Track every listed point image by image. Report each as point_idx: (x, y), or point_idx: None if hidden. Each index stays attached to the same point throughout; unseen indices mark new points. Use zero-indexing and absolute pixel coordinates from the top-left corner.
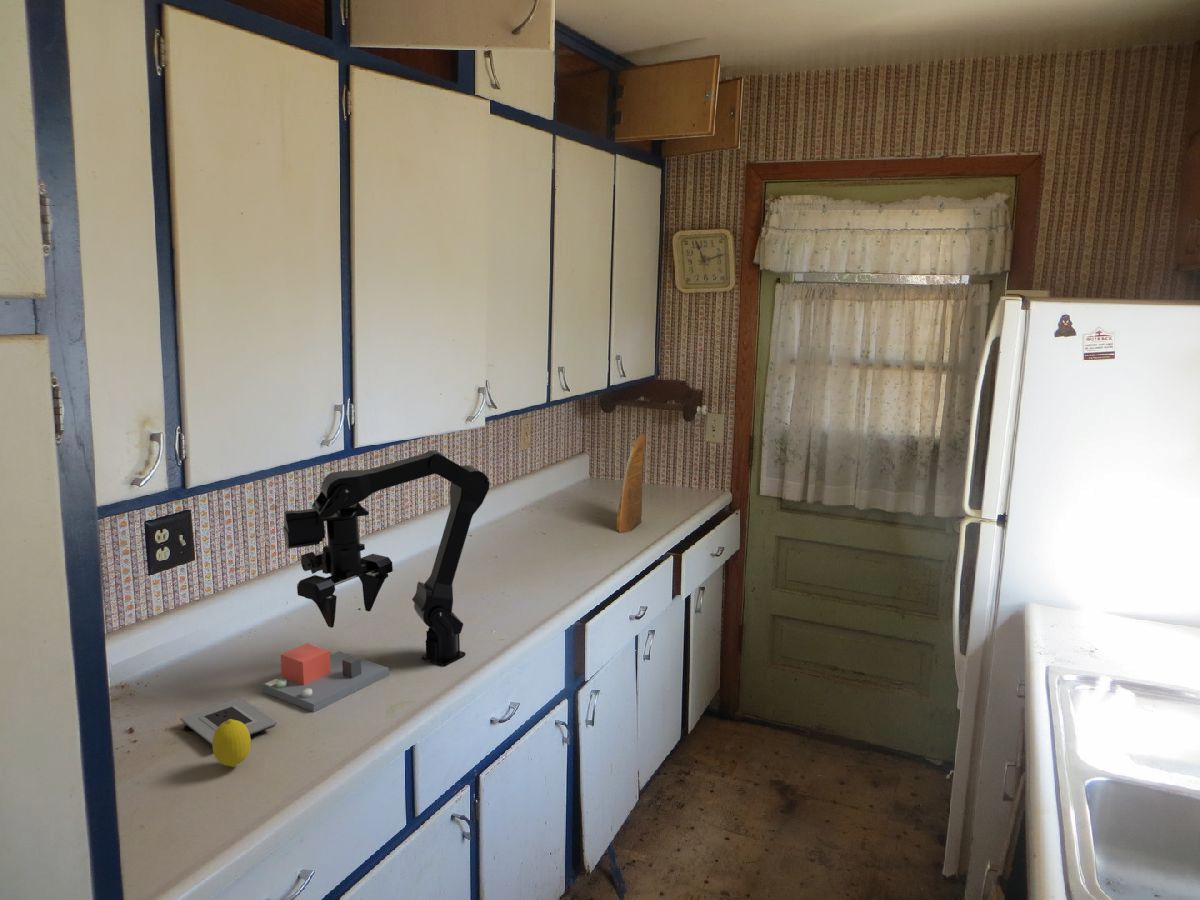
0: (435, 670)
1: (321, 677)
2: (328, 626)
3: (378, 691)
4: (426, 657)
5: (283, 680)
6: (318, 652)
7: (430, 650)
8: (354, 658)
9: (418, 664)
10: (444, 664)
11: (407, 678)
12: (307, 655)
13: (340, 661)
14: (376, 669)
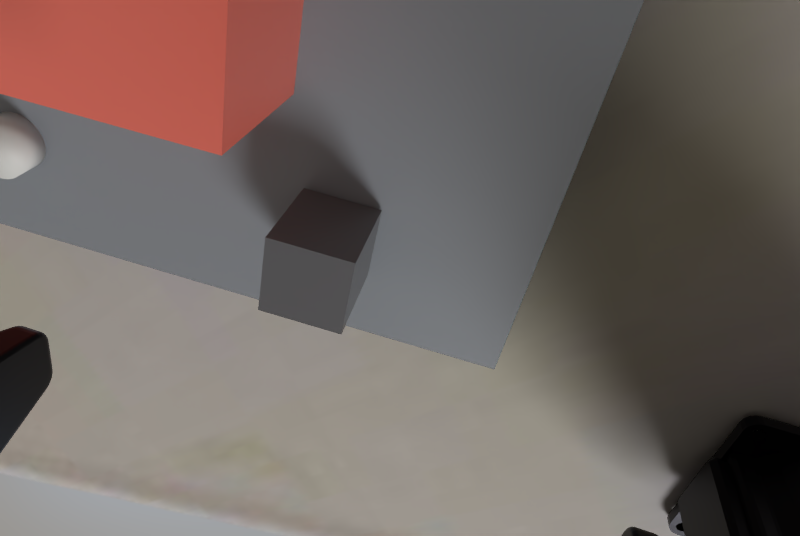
0: (614, 494)
1: None
2: (20, 331)
3: (324, 360)
4: (709, 467)
5: None
6: (147, 84)
7: (703, 530)
8: (325, 297)
9: (671, 417)
10: (669, 525)
11: (493, 420)
12: (48, 28)
13: (484, 44)
14: (451, 321)
